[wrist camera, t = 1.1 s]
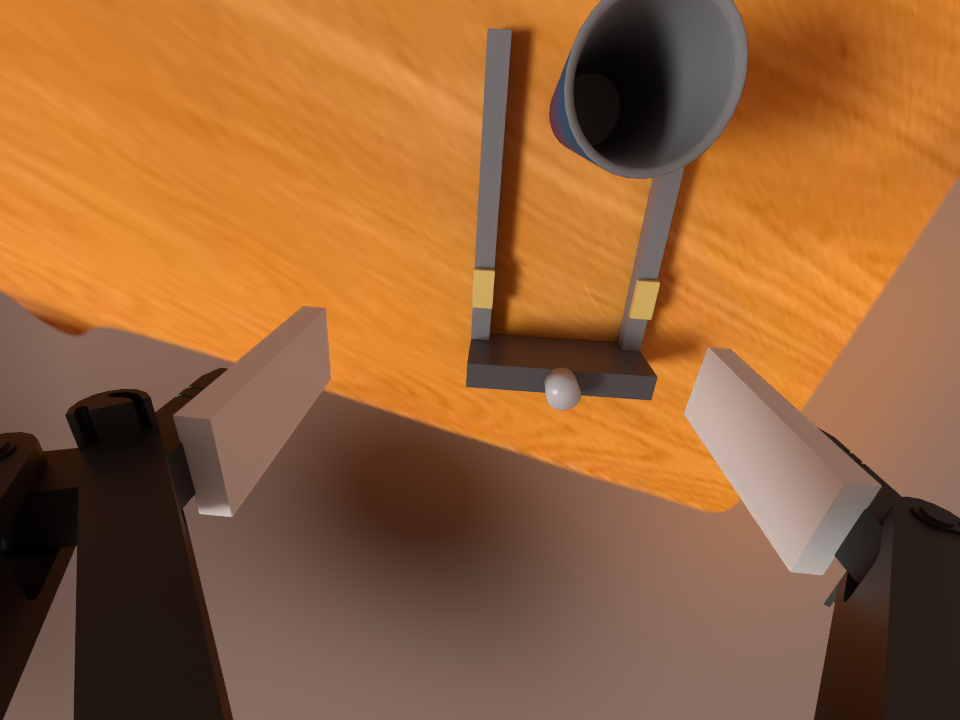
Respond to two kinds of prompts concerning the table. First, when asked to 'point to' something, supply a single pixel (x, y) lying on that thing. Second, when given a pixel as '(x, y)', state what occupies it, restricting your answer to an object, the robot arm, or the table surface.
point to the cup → (650, 83)
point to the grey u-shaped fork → (551, 360)
